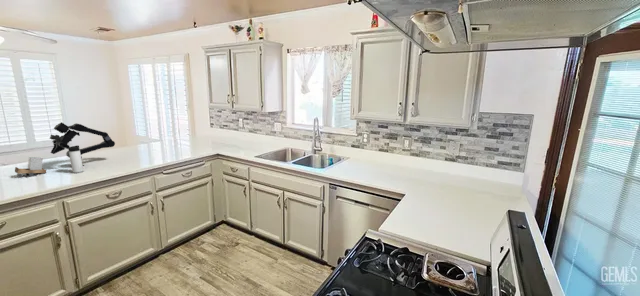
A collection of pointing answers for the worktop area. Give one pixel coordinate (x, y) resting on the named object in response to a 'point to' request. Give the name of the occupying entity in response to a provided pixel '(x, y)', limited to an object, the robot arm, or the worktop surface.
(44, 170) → the walnut beam
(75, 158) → the travel mug
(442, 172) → the worktop surface
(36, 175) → the pivot stand
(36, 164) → the block
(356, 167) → the worktop surface
